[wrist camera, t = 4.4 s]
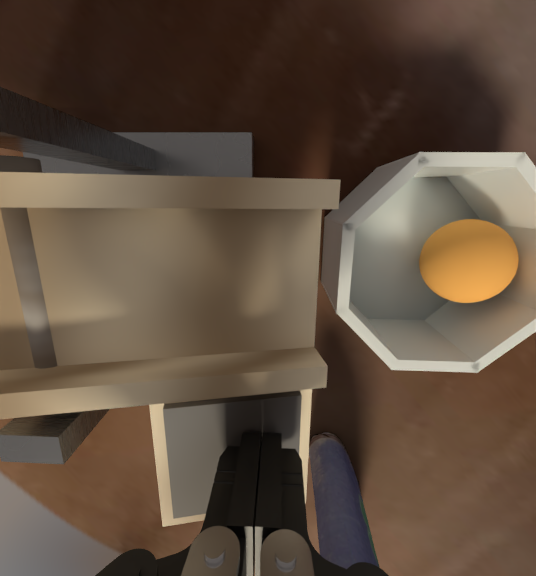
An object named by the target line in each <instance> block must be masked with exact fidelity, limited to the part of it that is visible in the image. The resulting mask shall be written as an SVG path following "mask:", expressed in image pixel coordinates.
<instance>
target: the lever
mask: <svg viewBox="0 0 536 576" xmlns="http://www.w3.org/2000/svg"><path fill="white" fill-rule="evenodd" d="M340 181H341V180H336V179H292V178H248V177H204V176H161V175H117V174H73V173H42V167H41V162H40V160H39V159H35V158H28V157H18V156H1V155H0V419H9V418H19V417H30V416H40V415H50V414H60V413H71V412H81V411H91V410H101V409H112V408H122V407H132V406H142V405H149V407H150V416H151V425H152V434H153V443H154V452H155V461H156V470H157V480H158V489H159V498H160V507H161V516H162V525H163V527H165V526H171V525H177V524H183V523H189V522H195V521H201V520H204V519H205V515H206V511H207V507H208V503H209V499H210V495H211V490H212V486H213V483H214V478H215V474H216V471H217V466H218V462H219V458H220V456H221V454H222V453H223V452H224V451H225V449H226V448H227V447H228V446H239V447H240V444H241V438H242V433H243V432H262V436H263V432H269V433H282V448H291V449H296V451H297V452H298V454H299V456H300V458H301V460H302V469H303V482H304V494H305V504H306V491H307V473H308V454H309V436H310V417H311V399H312V389H316V388H326V385H327V371H328V366H327V364H326V363H325V362H324V360H323V359H322V357H321V356H320V354H319V353H318V352H317V350H316V349H315V347H314V344H315V326H316V307H317V289H318V271H319V252H320V234H321V215H322V209H339V196H340Z"/></svg>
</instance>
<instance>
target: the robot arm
mask: <svg viewBox="0 0 536 576" xmlns="http://www.w3.org/2000/svg"><path fill="white" fill-rule="evenodd" d="M254 568H255V576H388V575H387V574H386V573H385V572H384V571H383V570H382V569H380V568H379V567H377V566H375V565H373V564H371V563H367V562H358V563H355V564H353V565H351V566H350V567H349V568H348V569H345V568H343V567H341V566H338V565H336V564H334V563H331V562H329V561H328V560H326V559H324V558H323V557H322V556H321V555H320V554H319V553H318V552H317V551H316V550H315V549H314V547H313V546H312V544H311V542H310V540H309V536H308V532H307V520H306V507H305V494H304V482H303V469H302V460H301V458H300V456H299V454H298V452H297V451H296V449H291V448H282V433H269V432H263V436H262V432H243V433H242V438H241V444H240V447H239V446H228V447H227V448H226V449H225V451H224V452H223V453H222V454H221V456H220V458H219V462H218V466H217V471H216V474H215V478H214V483H213V486H212V490H211V495H210V499H209V503H208V507H207V511H206V515H205V519H204V523H203V527H202V530H201V532H200V534H199V535H198V536H197V537H196V538H195V539H194V541H193V543H192V544H191V545H190V546H189V547H187V548H186V549H185V550H183V551H181V552H179V553H176V554H173V555H170V556H167V557H164V558H161V559H157V560H156V559H155V557H154V555H153V554H152V553H151V552H149V551H148V550H145V549H133V550H130V551H127V552H125V553H123V554H121V555H120V556H119V557H117V558H116V559H115V560H114V561H112V562H111V563H110V564H109V565H107V566H106V567H105V568H104V569H103V570H102V571H100V572H99V573H98V574H97V575H96V576H254Z"/></svg>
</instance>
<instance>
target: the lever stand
mask: <svg viewBox="0 0 536 576" xmlns="http://www.w3.org/2000/svg"><path fill="white" fill-rule="evenodd" d="M0 148H6V149H11V150H16V151H21V152H23V155H24V157H28V158H35V159H39V160H40V162H41V167H42V173H73V174H117V175H161V176H204V177H248V178H254V136H253V134H252V132H110V131H108V130H105V129H103V128H100V127H98V126H95V125H93V124H90V123H88V122H86V121H83V120H81V119H78V118H76V117H73V116H71V115H68V114H66V113H63V112H61V111H59V110H56V109H54V108H51V107H49V106H46V105H44V104H41V103H39V102H36V101H34V100H31V99H29V98H27V97H24V96H22V95H19V94H17V93H14V92H12V91H9V90H7V89H4V88H2V87H0ZM108 411H109V409H101V410H91V411H81V412H71V413H60V414H50V415H40V416H30V417H19V418H14V419H13V420H12V421H10V422H9V423H8V424H7V425H6V426H4V427H3V428H2V429H1V430H0V457H1V461H5V462H27V463H49V464H64V463H65V462H66V461H67V460H68V459H69V457H70V456H71V455H72V454H73V453H74V451H75V450H76V449H77V448H78V447H79V445H80V444H81V443H82V442H83V441H84V439H85V438H86V437H87V436H88V435H89V433H90V432H91V431H92V430H93V429H94V427H95V426H96V425H97V424H98V423H99V421H100V420H101V419H102V418H103V417H104V415H105V414H106V413H107V412H108Z"/></svg>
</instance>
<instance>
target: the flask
mask: <svg viewBox="0 0 536 576" xmlns="http://www.w3.org/2000/svg"><path fill="white" fill-rule="evenodd" d="M323 434H326V435H328V436H329V437H326V436H324V435H322V434H319V435H316V436H313V437H312V439H311V441H310V444H309V456H310V460H311V471H312V480H313V489H314V497H315V507H316V515H317V527H318V539H319V548H320V555H321V556H322V557H323V558H324V559H326V560H328V561H329V562H331V563H334V564H336V565H338V566H341V567H343V568H345V569H348V568H349V567H350V566H351V565H353V564H355V563H358V562H367V563H371V564H373V565H375V566H377V567H379V564H378V560H377V556H376V553H375V549H374V544H373V541H372V536H371V532H370V529H369V525H368V520H367V517H366V513H365V509H364V505H363V500H362V497H361V493H360V488H359V483H358V480H357V478H356V475H355V472H354V469H353V466H352V462H350V458H349V455H348V453H347V452H346V448H345V447H344V446H345V445H343V443H342V442H341V440H339V438H338V437H336V436H335V434H331V433H326V432H324V433H323Z"/></svg>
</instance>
